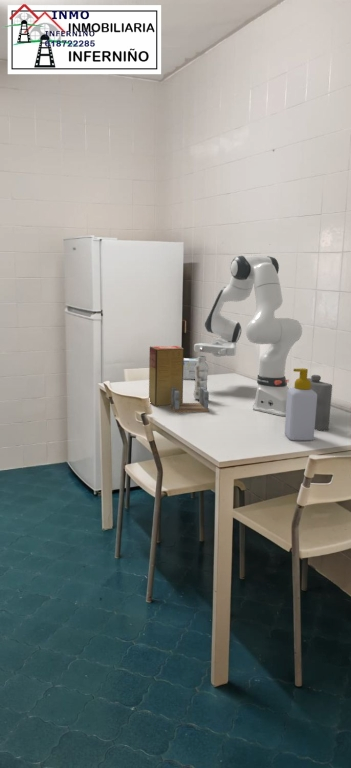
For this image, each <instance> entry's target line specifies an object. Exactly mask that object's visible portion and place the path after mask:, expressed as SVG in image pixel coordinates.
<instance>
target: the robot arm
mask: <svg viewBox="0 0 351 768" xmlns="http://www.w3.org/2000/svg"><path fill="white" fill-rule="evenodd" d="M279 270H280V265H279V262H278V259H276V258H275V257H272V256H269V255H268V256H263V255H252V254H251V255H240V256H239V255H238V256H235V257H234V258H233V259H232V261H231V262H230V273H231V276H230V279H229V283H228V284H227V285H226V286H224V287H222V288H221V290H220V291H219V292H218V295H216V296H217V297H216V299H215V301H214V303H213V306H212V308H211V310H210V312H209V314H208V316H207V318H206V319H205V321H204V327H205V329H206V331H207V332H208V333H211V334H214V335H217V336H219V337H218V338H215V339H213V340H211V342H210V343H204V342H199V343H195V344H194V345H193V350H194V352H196V353H204V354H207V353H208V354H212V356H214V357H218V358H219V357H224V356H225V357H226V356H227V357H228V356H229V357H231V356H236V353H237V343H238V341H239V340H240V337H241V334H242V326H241V324H240V322H238V321H236V320H235V319H231V318H228V317H225V316H224V315H221V313H220V312H221V310H222V309H223V306H224V304H225V303H227V302H236V303H237V302H241V301H245V300H246V299H248V298H249V297H250V295H251V293H252V291H253V287H254V295H255V304H256V309H255V313H254V316H253V317H252V319H251V320H249V322H248V324H247V325H246V328H245V335H246V337H247V339H248V341H249V342H250V343H253V344H256V345H257V344H258V345H269V348H268V349H267V351H266V352H264V353H263V354H261V355H260V357H259V360H258V362H259V363H258V367H259V368H258V374H257V377H256V380H257V381H256V384H257V388H256V393H255V399H254V402H253V405H252V407H253V408H252V410H254V411H257V412H263V413H267V414H273V415H277V416H281V417H286V404H287V391H288V389H290V387H289V386H288V382H290V379H286V376H285V373H286V372H285V371H286V363H287V362H286V361H287V357H288V356H289V353H290V351H291V349H292V347H293V346H294V344H296V343H297V342H298V341H299V340H300V339H301V337H302V335H303V327H302V325H301V324H302V323H300V321H299V320H297V319H294V318H289V317H278V318H277V317H275V311H277V310H278V309H279V308H280V307H281V306H282V304H283V295H282V288H281V282H280V278H279Z"/></svg>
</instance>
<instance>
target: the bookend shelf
mask: <svg viewBox="0 0 351 768" xmlns="http://www.w3.org/2000/svg"><path fill="white" fill-rule="evenodd" d="M209 393H210V392H209V390H208V389H207V390H206V389H205V388H204V387H200V399H199V402H183V403H179V391H178V390H177V389H176V388H175V387H172V389H171V405H169V406H170V408H171V409H172V411H173V412H174V413H208V412H209V409H210V408H209V400H210V399H209V398H210V397H209V395H210V394H209Z"/></svg>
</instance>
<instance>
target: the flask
mask: <svg viewBox="0 0 351 768" xmlns="http://www.w3.org/2000/svg"><path fill="white" fill-rule="evenodd" d="M321 377H322V376H321V375H319V374H313V375H311V376H310V377H307V379H308V380H310V382H311V389H312V390H313V391H314V392H316V394H317V404H316V417H315V430H316V429H317V430H316V431H320V430H322V432H326V431H329V429H330V428H329V427H330V416H331V405H332V392H333V384H332V383H329V382H323V381H322V380H321ZM324 430H325V431H324Z"/></svg>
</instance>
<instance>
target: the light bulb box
mask: <svg viewBox="0 0 351 768" xmlns="http://www.w3.org/2000/svg"><path fill="white" fill-rule="evenodd" d="M197 363H198V358H187V357H186V358H185V357H184V365H183V380H191V379H195V365H196V364H197ZM195 380H196V379H195Z"/></svg>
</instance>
